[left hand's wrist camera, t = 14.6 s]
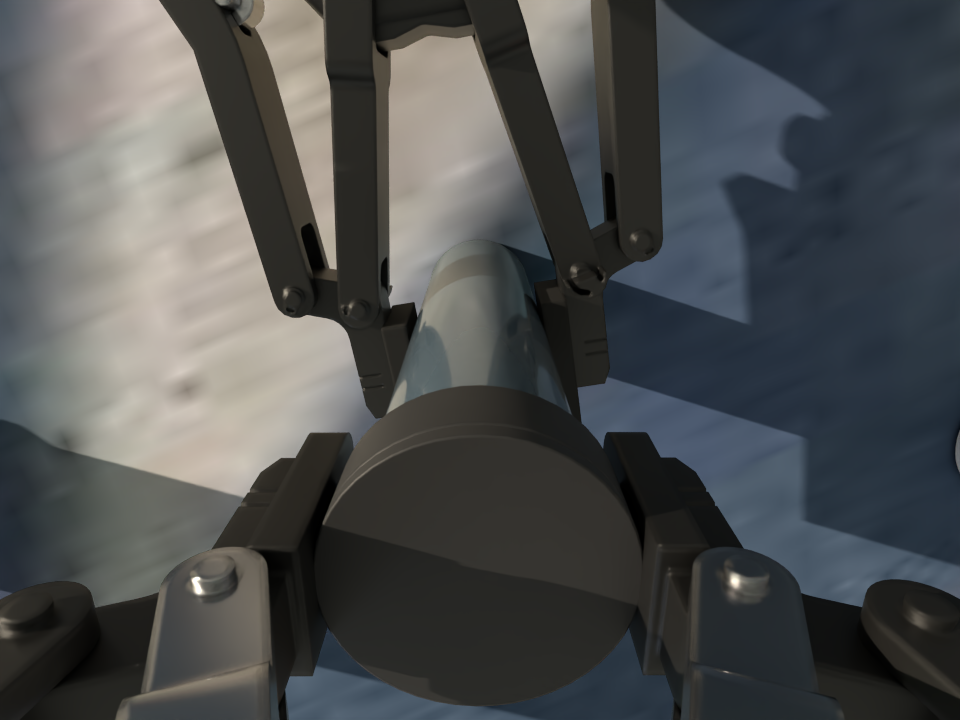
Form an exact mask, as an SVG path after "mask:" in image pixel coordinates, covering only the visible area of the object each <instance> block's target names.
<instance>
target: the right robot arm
mask: <svg viewBox="0 0 960 720" xmlns="http://www.w3.org/2000/svg"><path fill="white" fill-rule="evenodd" d="M159 1H160V2H161V4H162V5H163V6H164V8H165V9H166V11H167V12H168V14H169V15H170V17H171V18H172V20H173V21H174V22H175V24H176V25H177V27H178V28H179V30H180V31H181V33H182V34H183V36H184V37H185V38H186V40H187V41H188V43H189V44H190V46H191V47H192V49H193V50H194V53H195V56H196V59H197V63H198V66H199V69H200V72H201V75H202V78H203V81H204V84H205V87H206V91H207V94H208V97H209V100H210V103H211V106H212V109H213V112H214V115H215V119H216V122H217V125H218V128H219V131H220V134H221V137H222V140H223V143H224V147H225V150H226V153H227V156H228V159H229V162H230V165H231V168H232V171H233V175H234V178H235V181H236V184H237V187H238V190H239V193H240V196H241V199H242V203H243V206H244V209H245V212H246V215H247V218H248V221H249V224H250V227H251V230H252V234H253V237H254V240H255V243H256V246H257V249H258V252H259V255H260V258H261V262H262V265H263V268H264V271H265V274H266V277H267V280H268V283H269V286H270V290H271V293H272V296H273V299H274V302H275V304H276V306H277V308H278V309H279V310H280V311H281V312H282V313H283V314H284V315H287V316H289V317H292V318H300V317H303V316H305V315H311V316H317V317H322V318H328V319H331V320H334V321H336V322H337V323H339V324H340V325H341V326H342V327H344V329H345V330H346V332H347V333H348V336H349V338H350V342H351V346H352V350H353V354H354V358H355V362H356V366H357V370H358V374H359V377H360V382H361V386H362V389H363V394H364V398H365V402H366V406H367V407H368V409H369V410H370V411H371V413H372V414H373V415H374V417H375V418H383V417H384V416H385V415H386V412H387V409H388V406H389V403H390V400H391V397H392V394H393V391H394V388H395V385H396V382H397V379H398V376H399V373H400V370H401V367H402V364H403V361H404V358H405V355H406V352H407V349H408V346H409V343H410V339H411V336H412V333H413V330H414V327H415V324H416V321H417V313H416V308H415V303H414V302H412V303H406V304H400V305H394V306H392V308H390V303H389V299H388V297H389V295H390V293H391V291H392V286H390V278H389V101H388V96H389V86H390V75H391V52H390V51H391V50H396V49H402V48H405V47H407V46H409V45H410V44H412V43H414V42H416V41H418V40H420V39H422V38H424V37H426V36H430V35H431V36H441V37H450V38H461V37H466V36H472V37H473V40H474V42H475V45H476V48H477V51H478V54H479V56H480V59H481V62H482V65H483V67H484V70H485V72H486V75H487V77H488V80H489V83H490V86H491V89H492V91H493V94H494V97H495V100H496V103H497V105H498V108H499V111H500V114H501V117H502V120H503V122H504V125H505V128H506V131H507V134H508V137H509V139H510V142H511V145H512V148H513V151H514V154H515V156H516V159H517V162H518V165H519V168H520V170H521V173H522V176H523V179H524V182H525V185H526V187H527V190H528V193H529V196H530V199H531V202H532V204H533V207H534V210H535V213H536V216H537V219H538V221H539V224H540V227H541V230H542V233H543V235H544V238H545V241H546V244H547V247H548V250H549V252H550V255H551V258H552V261H553V264H554V266H555V272H556V279H554V280H548V281H542V282H536V283H534V287H535V295H536V302H537V309H538V312H539V315H540V318H541V321H542V324H543V327H544V330H545V333H546V336H547V340H548V343H549V346H550V349H551V352H552V355H553V358H554V361H555V364H556V367H557V370H558V373H559V377H560V380H561V383H562V386H563V389H564V392H565V395H566V398H567V401H568V404H569V407H570V410H571V414H572V416H574V417H575V418H576V419H577V420H578V421H579V422H581V414H580V406H579V397H578V389H577V387H584V386H590V385H597V384H604V383H605V382H606V378H607V375H608V372H609V369H610V365H609V355H608V345H607V335H606V325H605V315H604V305H603V290H604V289H605V287H606V284H607V281H608V279H609V278H610V277H611V276H612V275H613V274H614V273H616V272H617V271H619V270H621V269H623V268H624V267H626V266H628V265H630V264H632V263H634V262H636V261H640V262H643V261H646V260H649V259H651V258H653V257H654V256H655V255H656V254H657V253H658V252H659V250H660V248H661V247H662V241H663V225H662V194H661V163H660V132H659V100H658V69H657V38H656V7H655V0H591V18H592V33H593V49H594V65H595V80H596V96H597V112H598V127H599V143H600V159H601V174H602V190H603V206H604V221H605V222H604V223H602V224H600V225H598V226H597V227H595V228H593V229H591V230H590V228H589V225H588V222H587V219H586V216H585V213H584V210H583V206H582V203H581V200H580V197H579V194H578V191H577V188H576V185H575V182H574V179H573V176H572V173H571V170H570V167H569V164H568V161H567V158H566V154H565V151H564V148H563V145H562V142H561V139H560V136H559V133H558V130H557V127H556V124H555V121H554V118H553V115H552V112H551V109H550V106H549V103H548V99H547V96H546V93H545V90H544V87H543V84H542V81H541V78H540V75H539V72H538V69H537V66H536V63H535V60H534V57H533V54H532V50H531V47H530V42H529V37H528V33H527V29H526V25H525V22H524V19H523V16H522V13H521V10H520V7H519V3H518V0H305V1H306V2H307V3H308V4H309V5H310V6H311V7H312V8H313V9H314V10H315V11H316V12H317V13H318V14H319V15H320V16H321V17H322V18H323V19H324V45H325V64H326V71H327V75H328V78H329V81H330V90H331V118H332V146H333V174H334V203H335V231H336V259H337V270H334V269H329V265H328V262H327V258H326V255H325V251H324V248H323V244H322V241H321V237H320V234H319V230H318V227H317V223H316V219H315V216H314V212H313V209H312V205H311V202H310V198H309V195H308V191H307V188H306V184H305V181H304V177H303V174H302V170H301V167H300V163H299V160H298V156H297V153H296V149H295V146H294V142H293V139H292V135H291V132H290V128H289V125H288V121H287V117H286V114H285V110H284V107H283V103H282V100H281V96H280V93H279V89H278V86H277V82H276V79H275V75H274V72H273V68H272V65H271V63H270V60H269V57H268V54H267V51H266V49H265V47H264V45H263V42H262V40H261V38H260V36H259V34H258V32H257V31H256V29H255V27H256V26H257V25H258V24H259V23H260V22H261V19H262V17H263V15H264V1H263V0H159ZM581 423H582V422H581Z"/></svg>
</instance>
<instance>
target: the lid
mask: <svg viewBox="0 0 960 720" xmlns="http://www.w3.org/2000/svg"><path fill="white" fill-rule="evenodd" d="M313 562H314V572H315V582H316V590H317V599H318V605H319V608H320V611H321V614H322V616H323V618H324V620H325V622H326V624H327V626H328V628H329V630H330V632H331V633H332V635H333V636H334V637H335V639H336V640H337V642H338V643H339V645H340V646H341V647H342V648H343V649H344V650H345V651H346V652H347V653H348V654H349V656H350V657H351V658H352V659H353V660H354V661H356V662H357V663H358V664H359V665H360V666H362V667H363V668H364V669H365V670H366V671H368V672H369V673H371V674H372V675H374V676H375V677H377V678H378V679H380V680H381V681H383V682H385V683H387V684H389V685H391V686H393V687H395V688H397V689H399V690H401V691H404V692H406V693H409V694H412V695H414V696H417V697H420V698H424V699H428V700H432V701H435V702H441V703H447V704H453V705H465V706H495V705H503V704H510V703H517V702H521V701H525V700H529V699H534V698H537V697H539V696H542V695H545V694H548V693H551V692H553V691H556V690H558V689H560V688H562V687H564V686H566V685H568V684H570V683H572V682H574V681H575V680H577V679H578V678H580V677H582V676H583V675H585V674H586V673H588V672H589V671H590V670H592V669H593V668H594V667H595V666H597V665H598V664H599V663H600V662H601V661H602V660H603V659H604V658H605V657H606V656H607V655H608V654H609V653H610V652H611V651H612V650H613V649H614V648H615V647H616V645H617V644H618V643H619V641H620V640H621V639H622V638H623V636H624V635H625V633H626V631H627V630H628V628H629V626H630V624H631V622H632V621H633V618H634V616H635V613H636V611H637V607H638V600H639V591H640V582H641V573H642V562H643V548H642V545H641V541H640V537H639V534H638V530H637V528H636V525H635V523H634V520H633V518H632V515H631V513H630V510H629V508H628V505H627V503H626V500H625V497H624V495H623V492H622V490H621V487H620V485H619V482H618V480H617V477H616V475H615V472H614V470H613V467H612V465H611V463H610V461H609V459H608V456H607V454H606V453H605V451H604V450H603V448H602V447H601V445H600V443H599V442H598V440H597V439H596V438H595V437H594V436H593V435H592V434H591V432H590V431H589V430H588V429H587V428H586V427H585V426H584V425H583V424H582V423H581V422H579V421H578V420H577V419H576V418H575V417H574V416H572V415H571V414H569V413H568V412H566V411H565V410H563V409H562V408H560V407H559V406H557V405H555V404H553V403H551V402H549V401H547V400H545V399H543V398H541V397H538V396H536V395H533V394H530V393H527V392H524V391H520V390H515V389H511V388H506V387H499V386H487V385H472V386H458V387H452V388H446V389H441V390H438V391H434V392H431V393H427V394H424V395H421V396H419V397H417V398H415V399H412V400H410V401H408V402H405V403H404V404H402V405H400V406H399V407H397V408H395V409H394V410H392V411H390V412H389V413H388V414H386V415H385V416H384V417H383V418H381V419H380V420H379V421H378V422H376V423H375V424H374V425H373V426H372V427H371V428H370V429H369V430H368V432H367V433H366V434H365V435H364V436H363V437H362V438H361V440H360V441H359V443H358V444H357V445H356V447H355V448H354V450H353V451H352V453H351V455H350V457H349V459H348V461H347V463H346V465H345V467H344V470H343V472H342V475H341V477H340V480H339V482H338V485H337V487H336V490H335V492H334V495H333V497H332V500H331V502H330V505H329V507H328V510H327V513H326V515H325V517H324V520H323V522H322V525H321V528H320V531H319V534H318V537H317V540H316V543H315V549H314V557H313Z"/></svg>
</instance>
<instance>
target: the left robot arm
mask: <svg viewBox="0 0 960 720" xmlns="http://www.w3.org/2000/svg"><path fill="white" fill-rule="evenodd" d="M603 450H604V451H605V453H606V454H607V456H608V459H609V461H610V463H611V465H612V467H613V470H614V472H615V475H616V477H617V480H618V482H619V485H620V487H621V490H622V492H623V495H624V497H625V500H626V503H627V505H628V508H629V510H630V513H631V515H632V518H633V520H634V523H635V525H636V528H637V530H638V534H639V537H640V541H641V545H642V548H643V562H642V573H641V582H640V591H639V600H638V607H637V611H636V613H635V616H634V618H633V621H632V622H631V624H630V626H629V629H630V633H631V636H632V639H633V643H634V646H635V649H636V653H637V656H638V660H639V663H640V666H641V670H642V673H643V675H666V677H667V680H668V683H669V686H670V689H671V692H672V695H673V697H674V699H673V706H672V715H671V720H960V599H958V598H957V597H955V596H953V595H951V594H949V593H947V592H944V591H942V590H940V589H937V588H935V587H932V586H929V585H926V584H922V583H918V582H914V581H908V580H900V579H890V580H883V581H879V582H876V583H874V584H873V585H871V586H870V587H869V588H868V590H867V592H866V595H865V599H864V603H863V606H862V607H858V606H854V605H849V604H844V603H840V602H835V601H831V600H826V599H821V598H817V597H813V596H809V595H805V594H802V593H801V590H800V587H799V584H798V582H797V581H796V579H795V577H794V576H793V575H792V574H791V573H790V572H789V571H788V570H787V569H786V568H785V567H784V566H782V565H781V564H779V563H778V562H776V561H775V560H773V559H771V558H769V557H767V556H765V555H763V554H760V553H757V552H754V551H751V550H747V549H744V548H743V547H742V545H741V543H740V542H739V540H738V539H737V537H736V535H735V534H734V532H733V531H732V529H731V527H730V526H729V524H728V523H727V521H726V519H725V518H724V516H723V515H722V513H721V512H720V510H719V508H718V507H717V506H715V502H714V500H713V499H712V497H711V496H710V494H709V492H706V488H705V486H704V484H703V483H702V481H701V480H700V478H699V477H698V475H697V473H696V472H695V471H694V470H692V469H691V468H689V467H688V466H687V465H685V464H684V463H682V462H681V461H680V460H678V459H677V458H661V457H660V455H659V453H658V452H657V450H656V448H655V446H654V444H653V443H652V441H651V439H650V437H649V435H648V434H647V433H646V432H607V433H606V435H605V439H604V447H603ZM352 451H353V441H352V437H351V434H350V433H310V434H309V435H308V437H307V439H306V440H305V442H304V444H303V446H302V447H301V449H300V451H299V453H298V455H297V456H296V458H281V459H279V460H278V461H276V462H275V463H273V464H272V465H271V466H269V467H268V468H266V469H265V470H264V471H262V472H261V473H260V474H259V476H258V478H257V479H256V481H255V482H254V484H253V485H252V487H251V489H250V493H247V495H246V496H245V498H244V500H243V501H242V503H241V507H238V509H237V510H236V512H235V514H234V515H233V517H232V518H231V520H230V521H229V523H228V525H227V526H226V528H225V529H224V531H223V532H222V534H221V536H220V537H219V539H218V540H217V542H216V543H215V545H214V547H213V548H212V550H209V551H206V552H203V553H200V554H197V555H195V556H193V557H191V558H189V559H187V560H185V561H184V562H182V563H181V564H179V565H178V566H176V567H175V568H174V569H173V570H172V571H171V572H170V573H169V574H168V575H167V576H166V577H165V579H164V581H163V582H162V584H161V587H160V590H159V592H158V593H156V594H153V595H150V596H146V597H142V598H138V599H134V600H129V601H125V602H120V603H115V604H111V605H106V606H102V607H97V608H95V606H94V602H93V598H92V595H91V592H90V591H89V589H88V588H87V587H85V586H83V585H82V584H79V583H76V582H69V581H57V582H48V583H43V584H38V585H35V586H31V587H28V588H25V589H23V590H20V591H17V592H15V593H13V594H11V595H8V596H6V597H4V598H3V599H1V600H0V720H289V715H288V706H287V700H286V693H285V688H286V685H287V682H288V680H289V677H290V676H313V673H314V670H315V667H316V663H317V660H318V657H319V653H320V650H321V647H322V644H323V640H324V637H325V634H326V631H327V627H328V626H327V624H326V622H325V620H324V618H323V616H322V614H321V611H320V608H319V605H318V599H317V590H316V582H315V572H314V562H313V557H314V549H315V543H316V540H317V537H318V534H319V531H320V528H321V525H322V522H323V520H324V517H325V515H326V513H327V510H328V507H329V505H330V502H331V500H332V497H333V495H334V492H335V490H336V487H337V485H338V482H339V480H340V477H341V475H342V472H343V470H344V467H345V465H346V463H347V461H348V459H349V457H350V455H351V453H352Z"/></svg>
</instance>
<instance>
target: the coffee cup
mask: <svg viewBox="0 0 960 720" xmlns="http://www.w3.org/2000/svg"><path fill="white" fill-rule="evenodd" d="M955 456H956V463H957V467H958V470H959V472H960V431H959V434H958V437H957V442H956V449H955Z"/></svg>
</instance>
